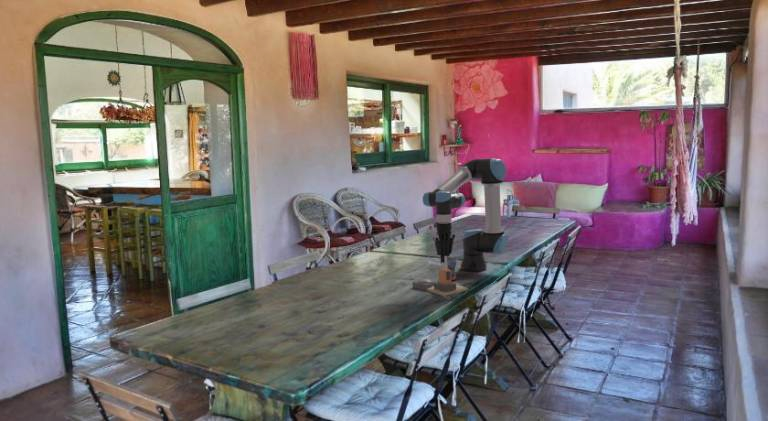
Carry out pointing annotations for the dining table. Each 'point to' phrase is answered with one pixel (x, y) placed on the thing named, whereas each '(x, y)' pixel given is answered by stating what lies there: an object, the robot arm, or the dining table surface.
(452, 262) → the mug
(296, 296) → the dining table surface
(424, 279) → the grey domed square block
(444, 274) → the plug
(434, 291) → the board
